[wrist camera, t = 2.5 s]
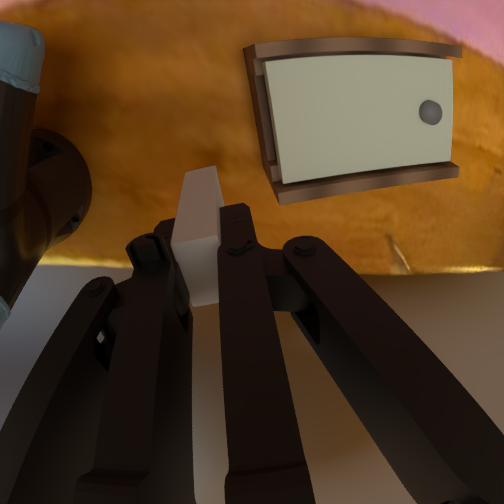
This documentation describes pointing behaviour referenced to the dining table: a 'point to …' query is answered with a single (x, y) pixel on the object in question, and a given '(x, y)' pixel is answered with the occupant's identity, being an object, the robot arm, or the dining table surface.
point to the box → (344, 181)
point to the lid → (358, 113)
